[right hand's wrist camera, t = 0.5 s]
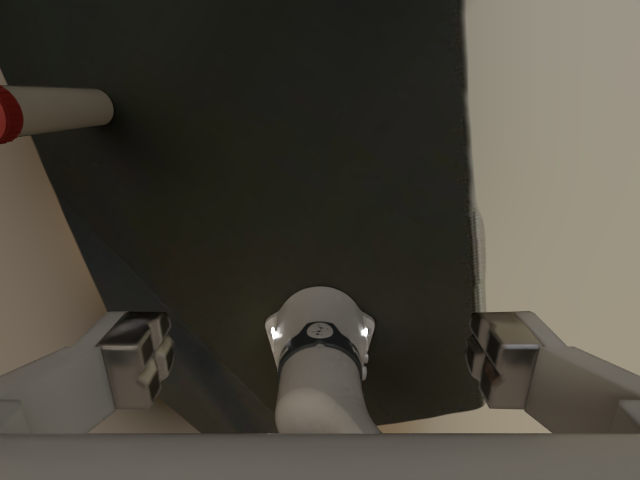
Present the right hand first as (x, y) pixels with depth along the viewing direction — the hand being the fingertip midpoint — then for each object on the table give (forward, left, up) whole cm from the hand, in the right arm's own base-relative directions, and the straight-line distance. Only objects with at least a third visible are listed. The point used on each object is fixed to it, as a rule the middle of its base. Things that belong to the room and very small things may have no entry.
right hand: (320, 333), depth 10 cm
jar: (+4, +31, -48) cm, 58 cm away
